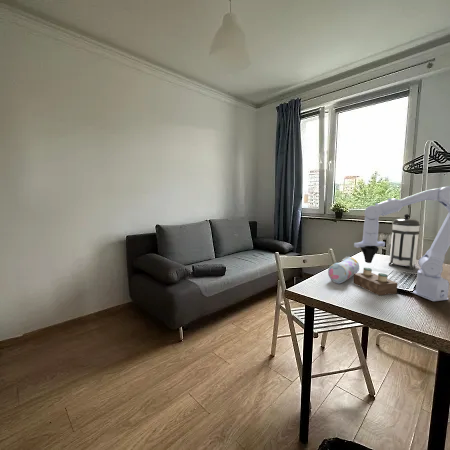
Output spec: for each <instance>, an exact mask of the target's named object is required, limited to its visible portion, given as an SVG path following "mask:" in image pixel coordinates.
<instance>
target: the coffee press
mask: <svg viewBox="0 0 450 450" xmlns="http://www.w3.org/2000/svg"><path fill="white" fill-rule="evenodd" d="M391 225H392V228H391V240H390V241H391V242H390V250H389V251H390V252H389V263H388V266H390V267H393V266H394V265H398V266H403V267H404V266H405V267H407V268H408V270H410V271H411V270H412V271H413V270H414V269H415V268H414V267H416V261H417V252H418V243H419V236H420V227H421V223H420V221H419V220H417V219H415V218H410V214H408V213H406V214H404V216H403V218H396V219H394V220H393V222H392V223H391Z"/></svg>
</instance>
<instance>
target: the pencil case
mask: <svg viewBox="0 0 450 450" xmlns="http://www.w3.org/2000/svg"><path fill="white" fill-rule="evenodd" d="M359 270H360V263H359V261H358V260H356V259H355V258H353V257H351V256H345V257H344V258H343V259H341V262H335V263H332V264H331V265H329V267H328V270H327V271H328V272H327V274H328V277H329V279H330V280H331V281H332V282H334V283H335V284H342V283H344V282H346V281H348V280H349V279H350V278H351V277H354V274H355V273H359Z"/></svg>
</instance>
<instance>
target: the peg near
mask: <svg viewBox="0 0 450 450" xmlns="http://www.w3.org/2000/svg"><path fill="white" fill-rule="evenodd" d="M377 275H378V282H380V283H387V279H388V274H387V273H384V272H383V273H382V272H379V273H378V274H377Z"/></svg>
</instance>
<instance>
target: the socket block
mask: <svg viewBox="0 0 450 450" xmlns="http://www.w3.org/2000/svg"><path fill="white" fill-rule="evenodd" d="M352 284H353V285H356V286H358V287H361V288H362V289H365V290H367V291H368V292H369V293H370V292H371V293H373V294H374V295H377V296H385V295H393V294H394V295H396V294H397V293H398V282H396V281H394V280H391V279H388V278H387V283H380V282H378V274H376V273H374V272H372V273H371V277H366V276H364V275H363V272H357V273H355V274H354V275H353V276H352Z"/></svg>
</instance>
